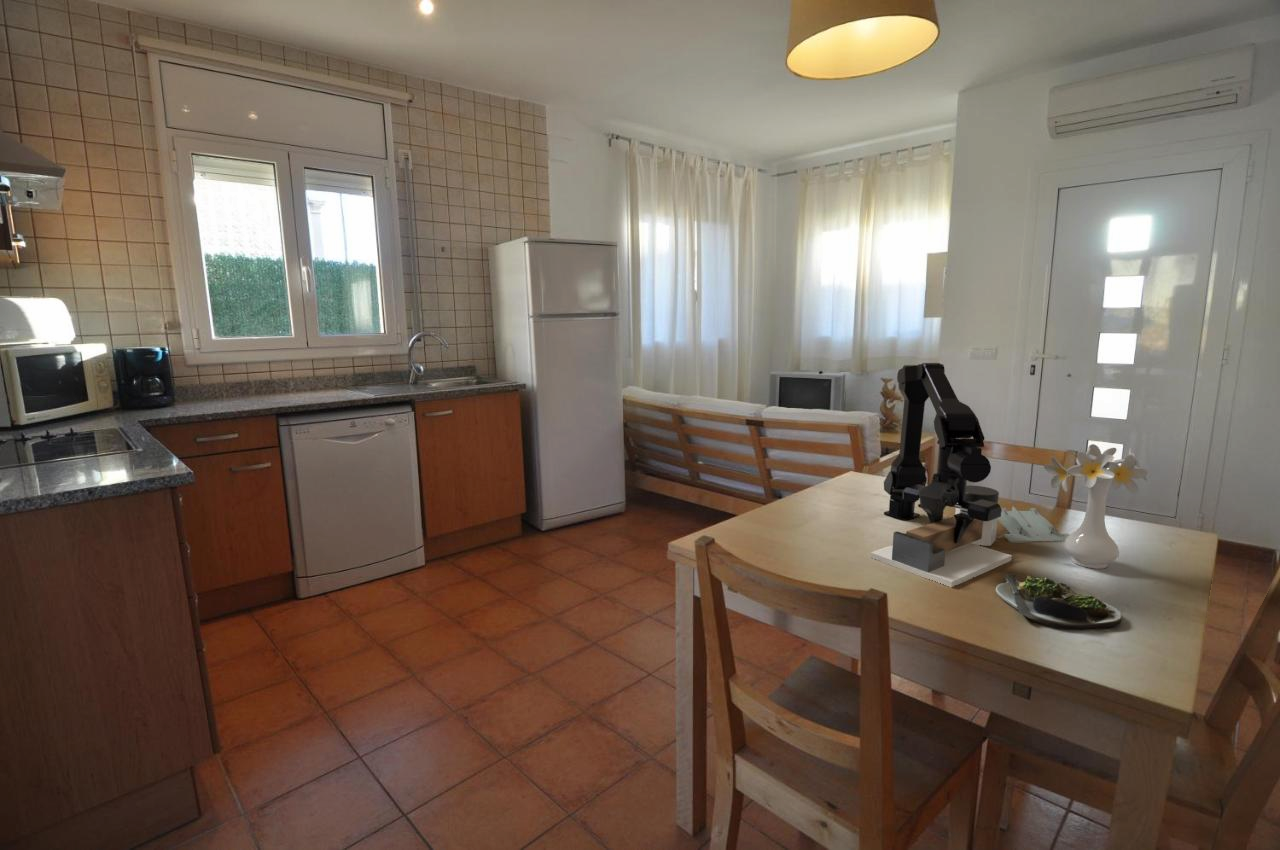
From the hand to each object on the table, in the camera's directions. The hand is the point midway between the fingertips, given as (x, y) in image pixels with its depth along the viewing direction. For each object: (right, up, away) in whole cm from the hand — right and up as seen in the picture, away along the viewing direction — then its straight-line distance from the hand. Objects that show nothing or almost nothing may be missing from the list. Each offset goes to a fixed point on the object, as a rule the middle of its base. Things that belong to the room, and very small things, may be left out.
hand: (946, 539), depth 130 cm
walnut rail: (-1, -1, 0) cm, 1 cm away
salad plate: (+8, -8, -22) cm, 25 cm away
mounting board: (-2, -4, 0) cm, 4 cm away
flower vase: (+28, -5, -4) cm, 28 cm away
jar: (+12, -2, +11) cm, 16 cm away
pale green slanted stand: (+27, -2, +15) cm, 31 cm away
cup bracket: (-9, -4, -5) cm, 11 cm away
